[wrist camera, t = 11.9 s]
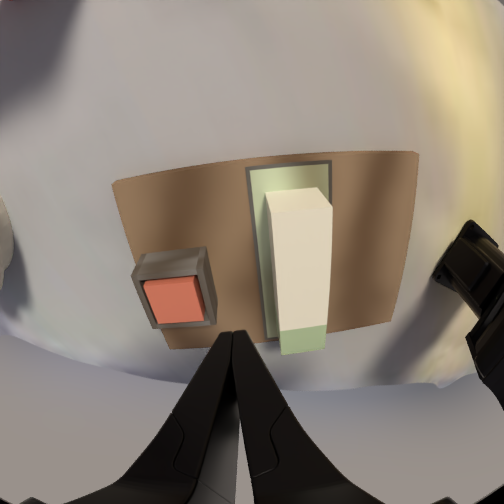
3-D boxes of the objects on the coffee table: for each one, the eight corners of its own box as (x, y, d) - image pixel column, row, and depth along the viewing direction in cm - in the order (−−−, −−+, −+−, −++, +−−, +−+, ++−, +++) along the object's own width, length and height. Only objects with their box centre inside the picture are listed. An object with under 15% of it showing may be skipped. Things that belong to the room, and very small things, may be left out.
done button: (197, 259, 19) (192, 281, 17) (206, 297, 21) (204, 320, 19) (152, 265, 19) (143, 286, 17) (164, 301, 21) (158, 323, 19)
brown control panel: (412, 151, 17) (441, 164, 14) (387, 315, 25) (401, 341, 22) (116, 180, 17) (94, 199, 14) (171, 342, 25) (165, 372, 22)
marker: (265, 192, 17) (271, 213, 14) (317, 187, 17) (332, 207, 14) (276, 324, 23) (281, 355, 20) (315, 319, 23) (324, 348, 20)
